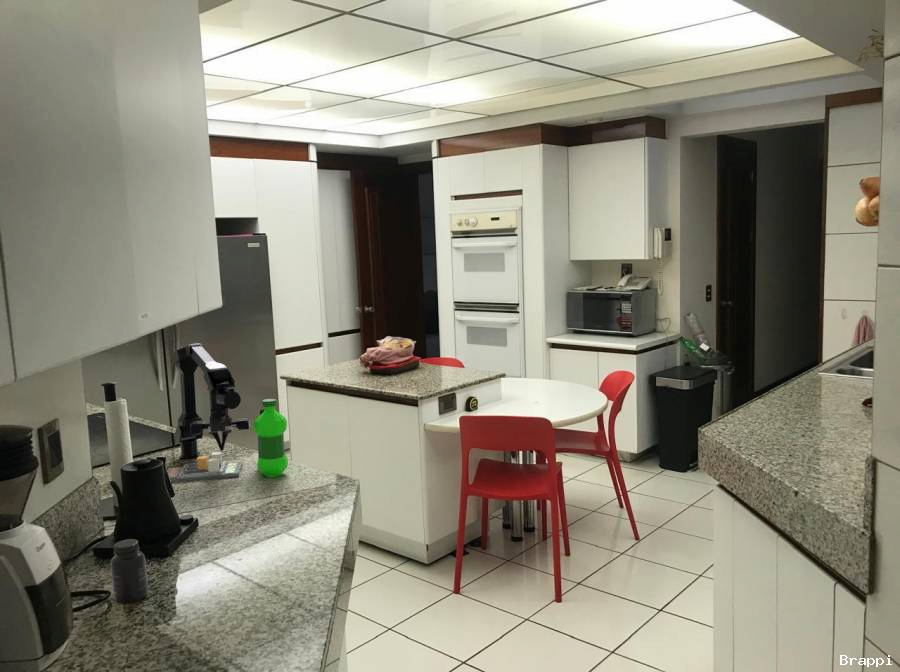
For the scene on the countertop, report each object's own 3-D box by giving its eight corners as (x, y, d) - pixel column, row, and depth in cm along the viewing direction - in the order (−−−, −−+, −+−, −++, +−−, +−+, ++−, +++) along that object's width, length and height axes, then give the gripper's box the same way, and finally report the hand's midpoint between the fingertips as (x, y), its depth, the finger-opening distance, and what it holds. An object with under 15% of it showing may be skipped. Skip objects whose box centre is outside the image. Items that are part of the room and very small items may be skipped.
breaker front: (209, 471, 238) (209, 459, 238) (219, 470, 239) (218, 458, 238) (208, 474, 236) (207, 461, 235) (218, 473, 236) (217, 460, 236)
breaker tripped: (199, 468, 241) (198, 456, 241) (208, 468, 242) (207, 456, 242) (197, 471, 239) (196, 459, 238) (207, 470, 239) (206, 458, 239)
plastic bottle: (265, 481, 231) (260, 405, 228) (252, 474, 239) (248, 400, 236) (294, 475, 237) (290, 400, 234) (281, 468, 245) (277, 395, 242)
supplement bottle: (138, 586, 160) (134, 534, 158) (154, 594, 156) (150, 541, 154) (107, 598, 155) (102, 544, 153) (123, 607, 150) (118, 552, 149)
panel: (169, 471, 244) (168, 465, 244) (242, 465, 249) (242, 459, 249) (161, 483, 232) (161, 476, 232) (238, 476, 237) (238, 470, 236)
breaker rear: (213, 464, 246) (212, 452, 246) (222, 463, 247) (221, 451, 246) (212, 466, 243) (211, 454, 243) (221, 466, 244) (220, 454, 243)
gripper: (185, 411, 229) (188, 459, 231) (246, 407, 233) (249, 454, 235) (191, 404, 240) (194, 450, 242) (249, 400, 244) (251, 445, 246)
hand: (222, 450), depth 241 cm, fingers closed
